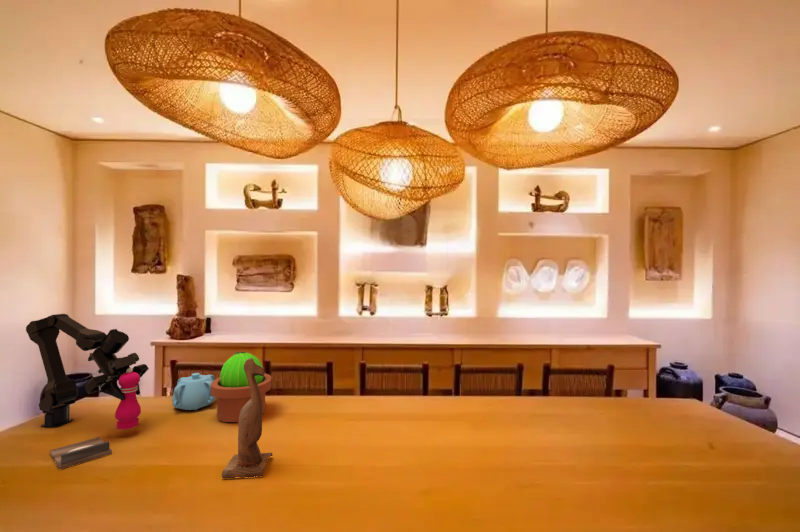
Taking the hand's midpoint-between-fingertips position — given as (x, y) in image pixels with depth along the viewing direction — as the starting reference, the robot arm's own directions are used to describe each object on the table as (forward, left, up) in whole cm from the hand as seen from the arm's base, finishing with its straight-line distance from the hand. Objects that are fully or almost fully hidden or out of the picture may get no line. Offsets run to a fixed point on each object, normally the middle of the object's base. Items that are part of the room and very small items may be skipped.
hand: (131, 396), depth 127 cm
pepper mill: (0, -2, -10) cm, 10 cm away
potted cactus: (-19, +30, -13) cm, 38 cm away
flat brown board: (+13, -6, -13) cm, 19 cm away
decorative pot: (-27, +7, -13) cm, 31 cm away
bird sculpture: (+20, +49, -13) cm, 54 cm away
